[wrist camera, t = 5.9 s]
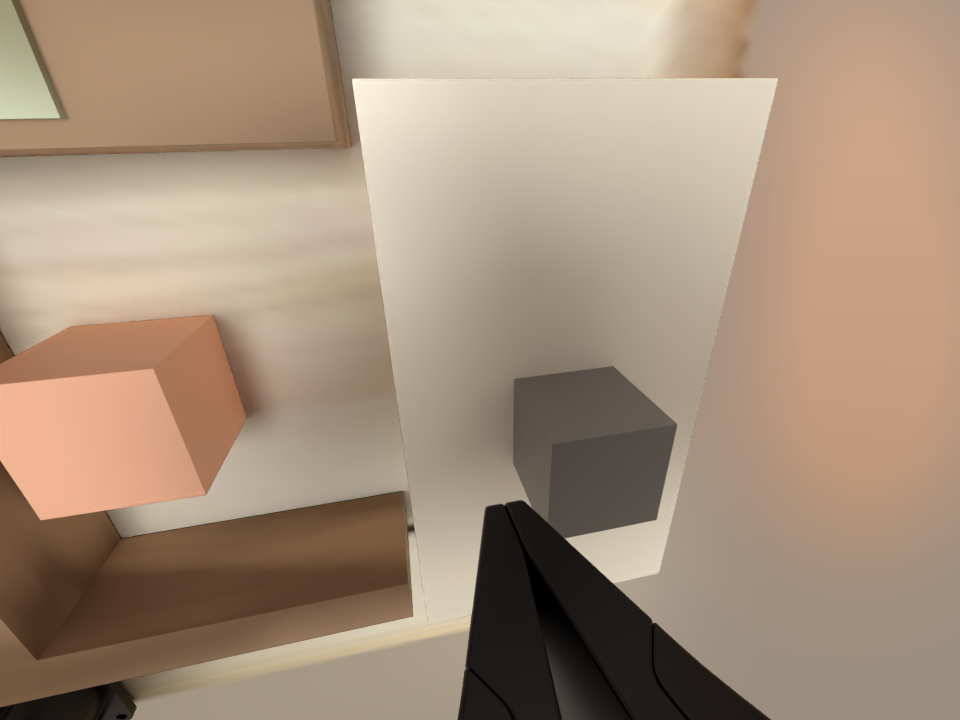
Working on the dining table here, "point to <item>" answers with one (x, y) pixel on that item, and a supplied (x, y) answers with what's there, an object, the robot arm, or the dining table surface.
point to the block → (118, 415)
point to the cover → (553, 298)
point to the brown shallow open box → (3, 508)
